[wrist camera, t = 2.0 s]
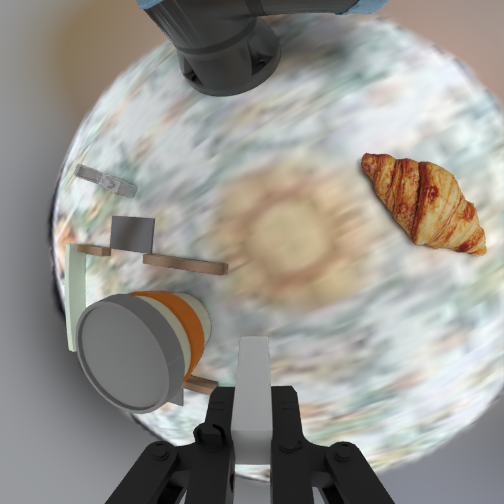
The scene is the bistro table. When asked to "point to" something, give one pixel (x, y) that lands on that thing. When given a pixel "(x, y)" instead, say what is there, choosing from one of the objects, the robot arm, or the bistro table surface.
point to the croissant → (426, 203)
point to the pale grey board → (74, 290)
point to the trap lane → (140, 240)
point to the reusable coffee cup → (141, 346)
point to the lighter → (105, 181)
